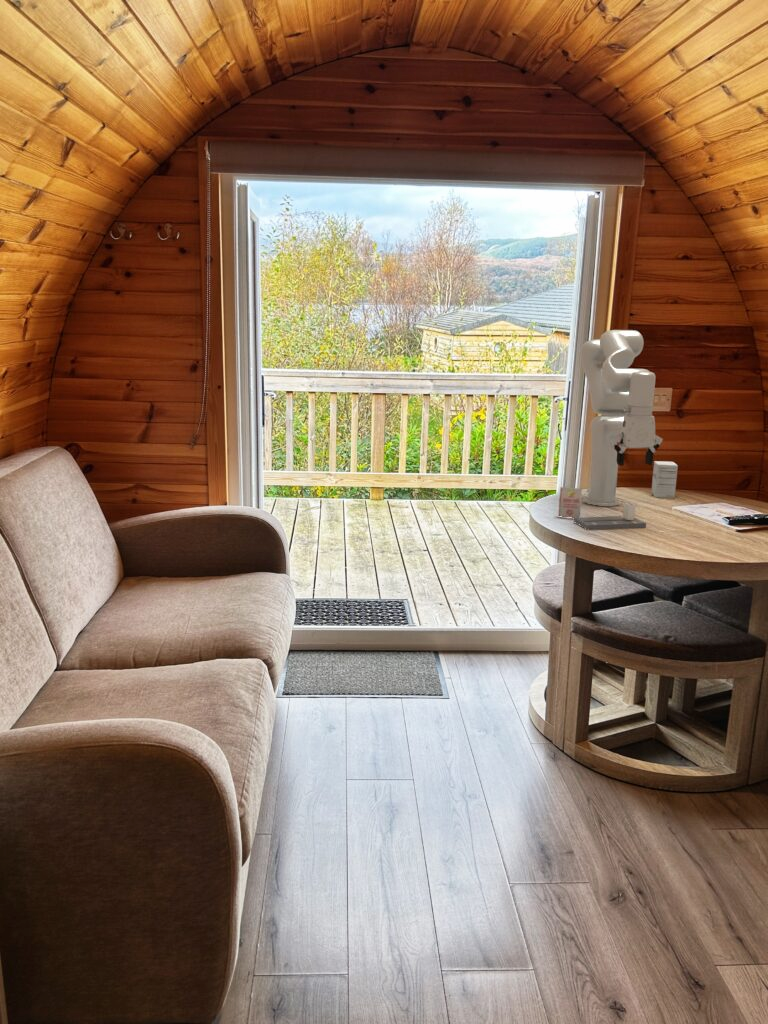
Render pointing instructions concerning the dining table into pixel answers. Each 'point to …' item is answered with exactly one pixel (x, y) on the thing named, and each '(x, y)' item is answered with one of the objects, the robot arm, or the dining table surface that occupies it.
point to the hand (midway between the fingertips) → (634, 464)
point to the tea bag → (570, 502)
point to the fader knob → (629, 511)
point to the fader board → (609, 522)
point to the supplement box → (664, 479)
